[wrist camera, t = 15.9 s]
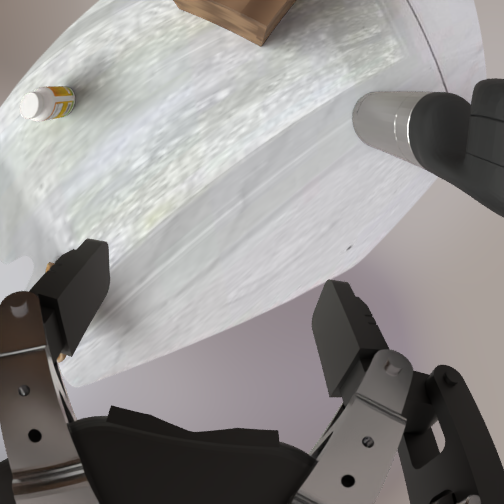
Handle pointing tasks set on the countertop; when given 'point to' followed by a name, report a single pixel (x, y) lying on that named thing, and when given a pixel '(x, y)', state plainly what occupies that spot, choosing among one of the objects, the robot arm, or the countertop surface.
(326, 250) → the countertop surface
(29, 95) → the supplement bottle
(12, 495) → the robot arm
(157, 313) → the countertop surface
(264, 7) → the walnut box
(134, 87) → the countertop surface
